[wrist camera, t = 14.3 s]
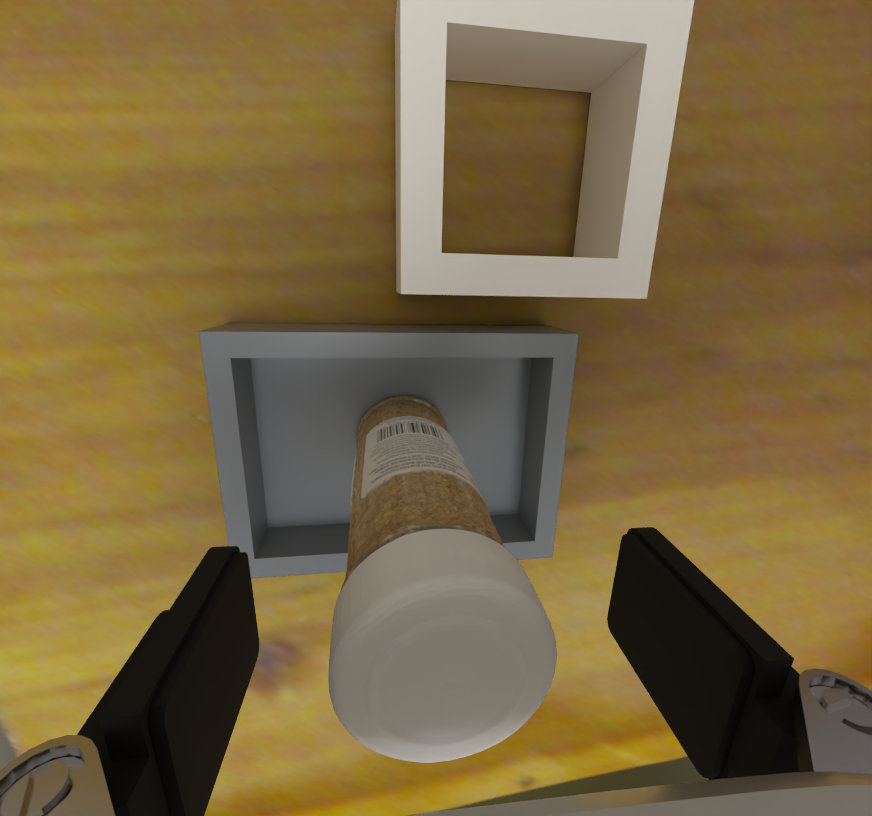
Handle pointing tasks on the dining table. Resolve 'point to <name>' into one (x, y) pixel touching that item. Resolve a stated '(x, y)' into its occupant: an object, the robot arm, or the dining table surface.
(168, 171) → the dining table surface
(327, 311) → the dining table surface
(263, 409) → the charcoal tray
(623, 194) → the frame
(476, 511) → the sprinkles bottle
